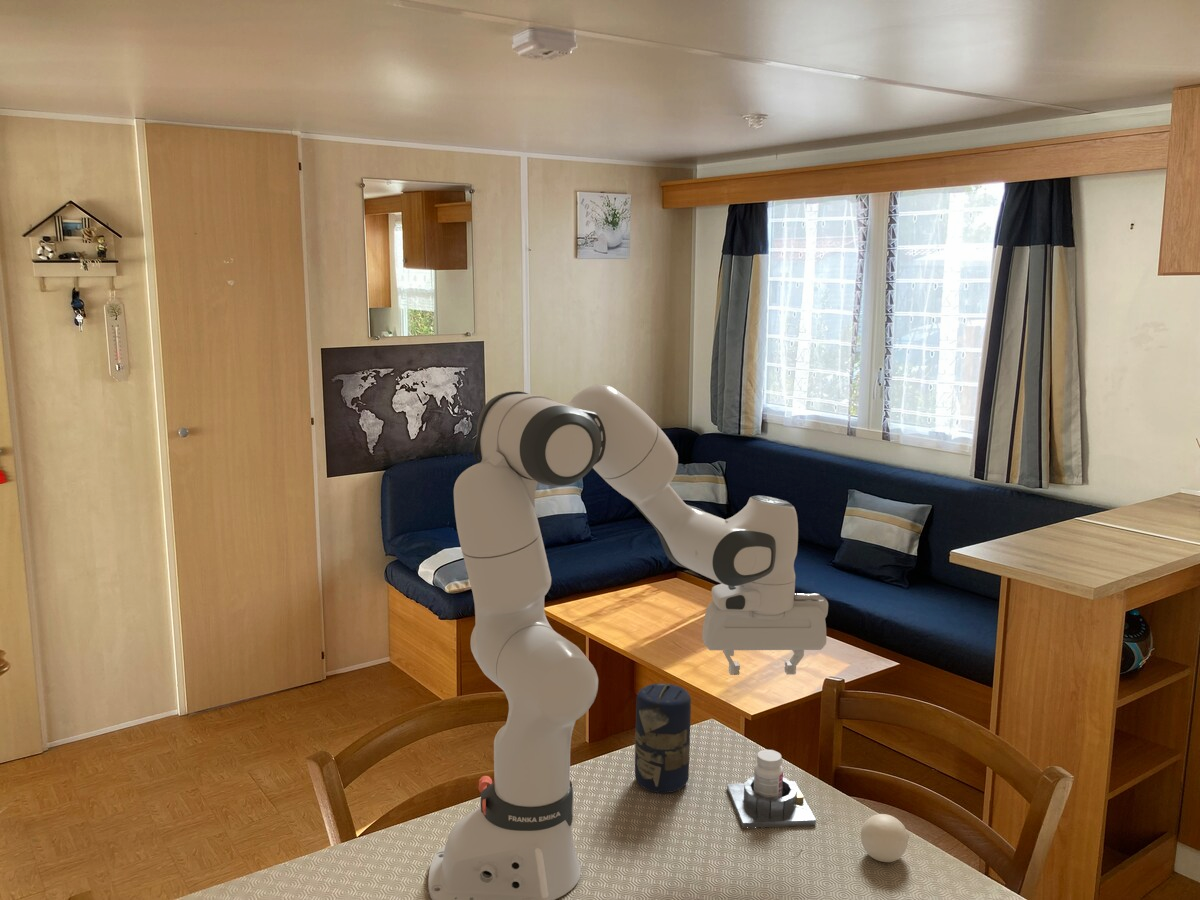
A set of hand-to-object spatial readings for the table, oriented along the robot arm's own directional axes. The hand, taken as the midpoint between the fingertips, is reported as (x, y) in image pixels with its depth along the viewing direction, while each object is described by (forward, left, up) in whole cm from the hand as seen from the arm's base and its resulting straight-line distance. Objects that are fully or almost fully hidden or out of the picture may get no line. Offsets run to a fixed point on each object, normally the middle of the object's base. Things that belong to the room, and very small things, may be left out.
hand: (762, 673), depth 160 cm
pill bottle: (+1, -2, -22) cm, 22 cm away
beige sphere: (+16, -17, -23) cm, 33 cm away
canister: (-15, +7, -23) cm, 29 cm away
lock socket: (+2, -2, -23) cm, 23 cm away
